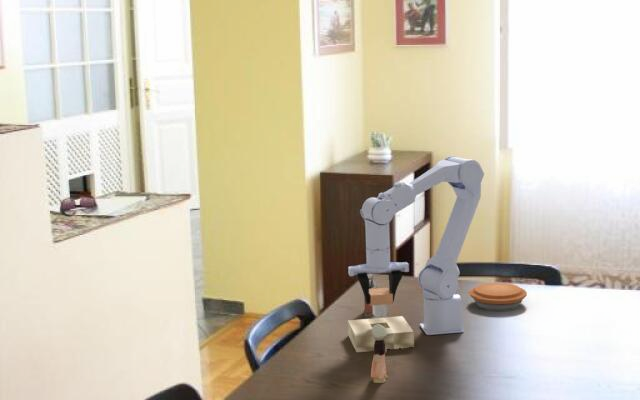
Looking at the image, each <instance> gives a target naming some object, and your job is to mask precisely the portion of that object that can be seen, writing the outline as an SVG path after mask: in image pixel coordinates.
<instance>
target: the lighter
mask: <svg viewBox="0 0 640 400" xmlns="http://www.w3.org/2000/svg"><path fill="white" fill-rule="evenodd" d="M367 276H368V278H369V289H376V288H377V287H378V285H377V282H376V281H374V275H373V274H368V275H367ZM363 298H364V301H363V302H364V310H363V317H366V318H374V317H375V316H374V315H373V305H372V306H371V305H370V304H366V302H365V297H363Z"/></svg>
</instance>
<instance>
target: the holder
mask: <svg viewBox="0 0 640 400" xmlns="http://www.w3.org/2000/svg"><path fill="white" fill-rule="evenodd" d="M376 324H380V325H382V326H384V327H385V329H386V331H387V335H386V336H385V337H384V338H383V340H384V342H385V347H386V350H387V349H390V350H399V348H401V349H410V348H409V347H413V348H415V337H414V336H415V333H414V332H415V331H414V330H413V329H412V326H410V324H409V323H408V322H407V320H406V319H405V317H404V316H403V315H400V316H399V315H397V316H387V317H376V318H375V317H372V318H363V319H362V318H361V319H351V320H349V319H348V320H347V335H348V338H349V339H350V342H351V344H352V346H353V348H354V350H355V352H356V353H363V352H365V353H366V352H374V344H375V339H374V338H373V336H372V334H373V333H372V328H373V326H374V325H376Z"/></svg>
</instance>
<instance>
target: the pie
mask: <svg viewBox="0 0 640 400" xmlns="http://www.w3.org/2000/svg"><path fill="white" fill-rule="evenodd" d="M527 293H528V292H527V291H526V289H524V288H522V287H520V286H518V285H515V284H513V283H507V282H487V283H482V284H478V285H477V286H475V287H473V288H471V289H470V290H469V291H468V294H469V296H470V297H471V298H472V299H473V300H474V301H475V304H476V305H477V307H479V308H480V309H483V310H487V311H492V312H493V311H495V312H503V311H504V312H505V311H512V310H515V309H517V308H519V306H520V305H521V304H522V302H523V300H524V299H525V298H526V297H527Z"/></svg>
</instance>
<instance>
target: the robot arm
mask: <svg viewBox="0 0 640 400" xmlns="http://www.w3.org/2000/svg"><path fill="white" fill-rule="evenodd" d="M484 176H485V173H484V171H483V168H482V167H481V164H480V162H478V161H477V160H475V159H468V158H463V157H462V158H461V157H457V156H454V155H449V156H447V157H445V158H444V159H441V160H439V161H438V162H437V164H435V165H434V166H433V167H431V168H429V169H428V170H427V171H426V172H424V173H423V174H421V175H420V176H418V177H416V178H415V179H414V180H411V182H409V183H408V182H405V181H401V182H399V181H397V182H395V183H393V187H391V188H390V189H387V190H386V191H384V192H380V193H378V196H377V197H373V196H372V197H369V198H367V199H366V200H364V202H363V204H362V207H361V209H360V210H359V213H360V215H361V218H363V220H364V226H365V254H366V255H365V257H366V263H364V264H363V263H362V264H358V265H350V266H348V267H347V269H348V271H347V273H348V275H349V277H355V276H356V278H357V281H358V282H359V284H360V287H361V290H362V292H363V296H364V297H365V302H366V304H370V298H369V278H368V276H369V275H370V274H374V275H375V274H387V273H388V288H389V289H390V291H391V292H392V293H393V303H395V297H396V293H397V289H398V287H399V285H400V282H401V281H402V278H403V273H402V272H404V273H408V272H410V265H409V264H410V263H408V262H407V261H405V262H404V261H403V262H398V261H397V262H395V261H394V262H393V261H391V248H390V247H391V242H390V222H391V221H392V220H393V219H394V216H395V214H397V213H399V212H400V211H403V210H404V209H405V208H407V207H409V206H410V205H413V203H415V201H416V198H417V196H418V195H420V194H422V193H424V192H425V191H426V192H427V190H430V189H431V188H433V187H435V186H437V185H439V184H441V183H445V182H446V183H448V184H449V185H450V187H451V188H452V190H453V191H454V194H455V195H456V199H455V201H454V205H453V207H452V210H451V212H450V215H449V218H448V221H447V224H446V226H445V229H444V232H443V234H442V237H441V239H440V242H439V244H438V247H437V250H436V252H435V255H433V256H432V257H430V258H429V259H427V260H426V263H425V264H424V265H425V266H424V267H423V268H421V270H420V272H419V273H418V275H417V284H418V286H419V287H420V289H422V295H423V322H422V323H419V327H420V328H421V329H422V330H423V332H424V333H425V335H427V336H433V335H445V334H456V333H457V334H458V333H464V324H463V323H464V321H463V319H464V318H463V315H464V314H463V313H464V312H463V311H464V310H463V309H464V308H463V302H462V298H461V296H460V294H458V293H457V290H458V287H459V276H460V273H461V272H460V269H459V267H458V264H457V262H458V259H459V256H460V254H461V250H462V247H463V245H464V242H465V240H466V237H467V235H468V233H469V230H470V226H471V224H472V221H473V220H474V219H473V218H474V216H475V214H476V211H477V208H478V205H479V202H480V200H481V194H482V181H483V179H484ZM456 293H457V294H456ZM364 297H363V298H364Z"/></svg>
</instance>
